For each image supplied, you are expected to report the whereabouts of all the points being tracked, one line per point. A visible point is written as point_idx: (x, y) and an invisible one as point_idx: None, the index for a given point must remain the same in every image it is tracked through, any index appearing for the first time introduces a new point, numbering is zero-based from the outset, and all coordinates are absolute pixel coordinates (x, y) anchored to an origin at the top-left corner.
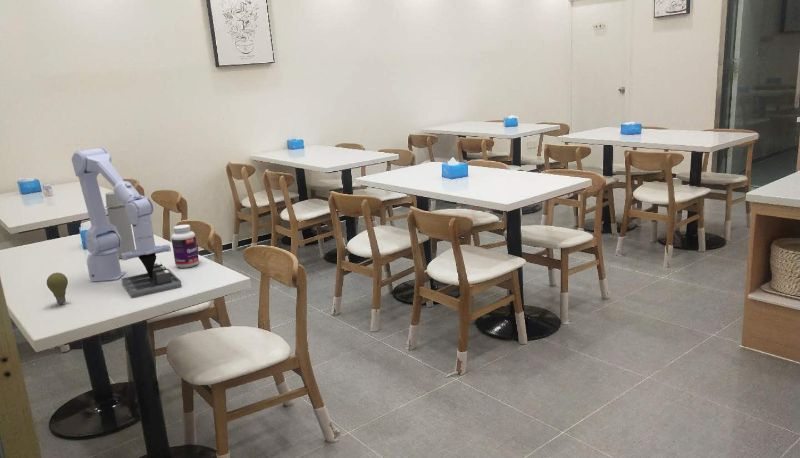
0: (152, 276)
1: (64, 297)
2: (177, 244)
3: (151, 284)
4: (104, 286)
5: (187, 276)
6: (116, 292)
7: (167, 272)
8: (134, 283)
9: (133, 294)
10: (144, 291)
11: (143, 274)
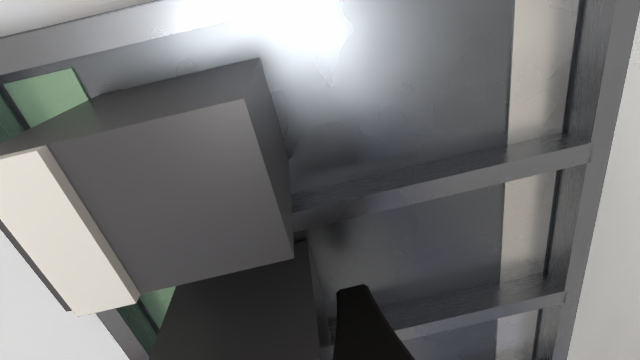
0: (337, 296)
1: None
2: None
3: (348, 186)
4: (628, 346)
5: (45, 343)
6: (623, 198)
7: (4, 160)
8: (485, 288)
9: None
10: None
11: None
